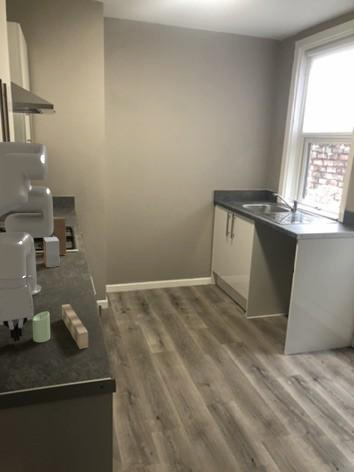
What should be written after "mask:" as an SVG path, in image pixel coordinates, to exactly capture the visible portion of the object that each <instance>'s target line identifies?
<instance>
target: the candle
mask: <svg viewBox="0 0 354 472" xmlns="http://www.w3.org/2000/svg"><path fill="white" fill-rule="evenodd" d="M34 316H35V317H34V318H33V319H31V322H32V325H31V326H32V340H33V342H36V343H45V342H47V341H49V340H50V339H51V322H50V321H51V319H50V312H49V311H42V312H40V313H37V314H36V315H35V314H34Z"/></svg>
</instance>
